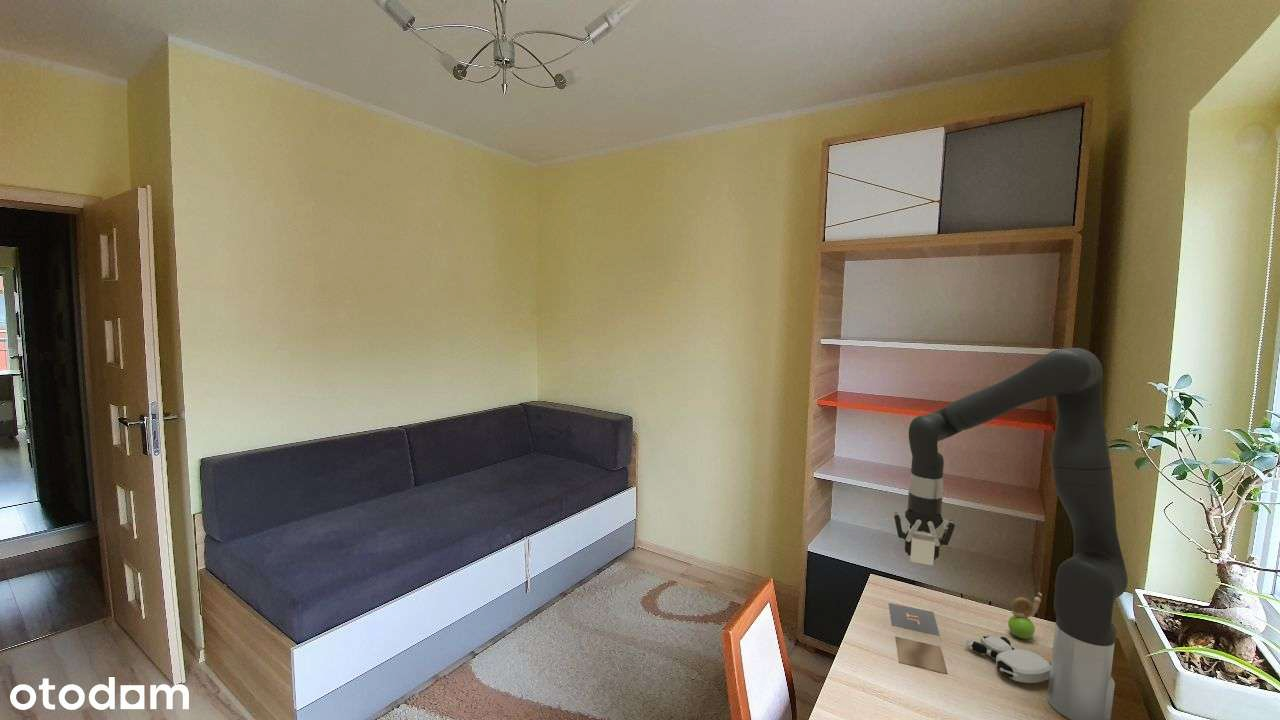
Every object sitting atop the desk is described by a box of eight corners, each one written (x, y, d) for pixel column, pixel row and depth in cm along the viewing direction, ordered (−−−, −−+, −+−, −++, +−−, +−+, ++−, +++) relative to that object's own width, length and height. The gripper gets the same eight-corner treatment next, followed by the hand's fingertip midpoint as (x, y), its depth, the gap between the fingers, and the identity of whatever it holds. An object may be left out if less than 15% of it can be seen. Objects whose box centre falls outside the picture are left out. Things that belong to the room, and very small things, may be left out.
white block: (930, 556, 135) (932, 534, 134) (933, 565, 130) (934, 542, 129) (908, 553, 137) (910, 531, 136) (910, 561, 132) (912, 539, 131)
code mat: (933, 613, 141) (933, 611, 141) (939, 637, 131) (939, 636, 131) (888, 603, 145) (888, 602, 145) (891, 626, 135) (891, 625, 135)
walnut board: (940, 647, 127) (940, 646, 127) (947, 674, 118) (947, 673, 117) (895, 637, 130) (895, 636, 130) (898, 662, 121) (898, 661, 121)
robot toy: (960, 653, 126) (1018, 694, 112) (961, 635, 126) (1018, 674, 112) (1001, 646, 129) (1063, 685, 115) (1002, 628, 129) (1064, 665, 114)
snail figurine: (1042, 645, 128) (1048, 599, 127) (1014, 642, 129) (1019, 596, 128) (1030, 631, 134) (1035, 587, 132) (1002, 628, 135) (1007, 584, 133)
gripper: (955, 491, 132) (950, 555, 134) (893, 483, 137) (889, 544, 139) (961, 501, 125) (955, 568, 127) (895, 492, 131) (890, 557, 132)
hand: (920, 555), depth 133 cm, fingers closed on white block, 5 cm apart
